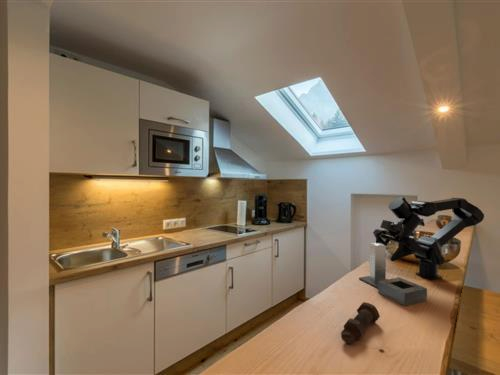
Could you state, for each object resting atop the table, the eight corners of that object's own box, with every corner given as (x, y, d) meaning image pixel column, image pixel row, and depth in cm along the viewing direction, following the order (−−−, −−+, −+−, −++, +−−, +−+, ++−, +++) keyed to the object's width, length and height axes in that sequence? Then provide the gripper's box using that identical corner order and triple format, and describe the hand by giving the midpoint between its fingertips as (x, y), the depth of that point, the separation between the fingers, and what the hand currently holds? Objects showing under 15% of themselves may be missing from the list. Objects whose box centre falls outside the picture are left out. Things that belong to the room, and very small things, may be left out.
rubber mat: (376, 276, 102) (376, 274, 102) (396, 284, 94) (396, 283, 94) (358, 279, 99) (358, 277, 99) (377, 288, 91) (377, 286, 91)
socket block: (399, 288, 91) (399, 277, 91) (426, 300, 81) (427, 288, 81) (377, 292, 87) (378, 281, 87) (404, 306, 78) (404, 293, 78)
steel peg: (380, 278, 98) (380, 242, 98) (385, 282, 94) (385, 245, 94) (369, 278, 98) (370, 242, 98) (374, 282, 94) (375, 245, 94)
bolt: (343, 351, 61) (366, 323, 71) (362, 350, 57) (383, 321, 68) (332, 326, 62) (356, 303, 73) (349, 324, 59) (372, 299, 70)
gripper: (376, 209, 106) (353, 237, 104) (414, 216, 88) (388, 249, 86) (392, 227, 108) (370, 254, 106) (432, 237, 90) (407, 270, 88)
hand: (382, 256), depth 96 cm, fingers open, 9 cm apart
